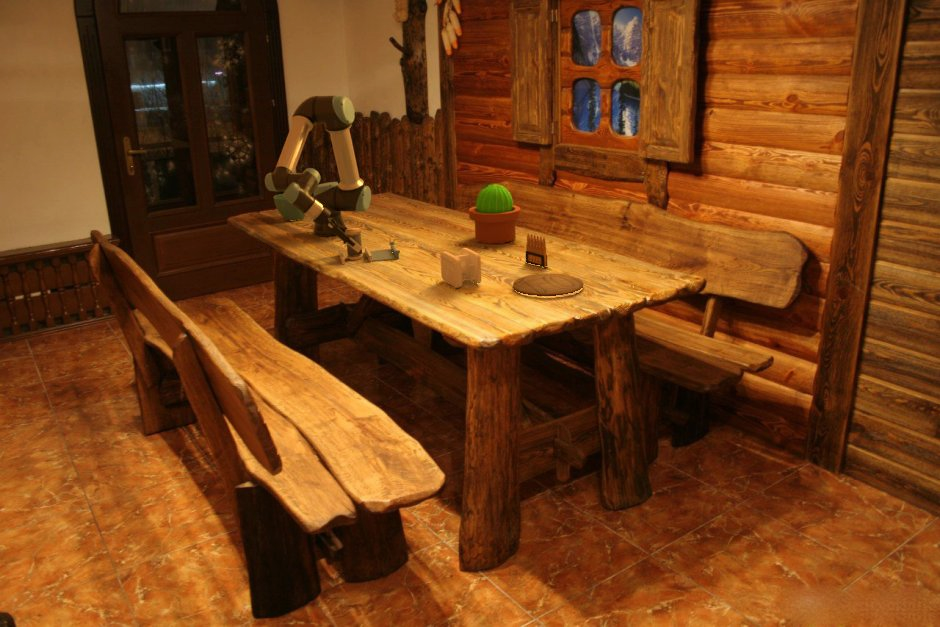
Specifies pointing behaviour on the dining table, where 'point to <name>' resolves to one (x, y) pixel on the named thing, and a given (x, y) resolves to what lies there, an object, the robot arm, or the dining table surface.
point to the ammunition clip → (536, 251)
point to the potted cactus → (494, 215)
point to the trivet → (547, 284)
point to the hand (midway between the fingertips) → (358, 246)
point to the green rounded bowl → (287, 208)
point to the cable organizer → (461, 267)
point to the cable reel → (356, 236)
